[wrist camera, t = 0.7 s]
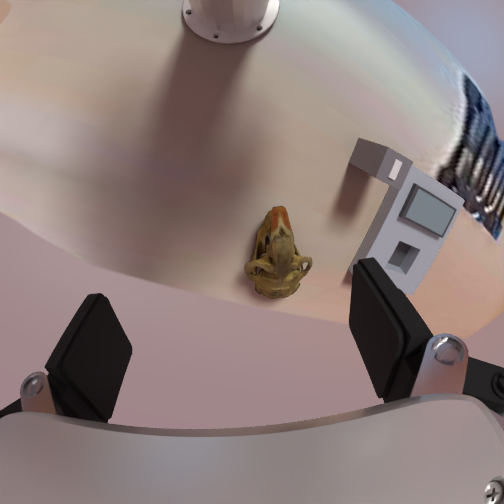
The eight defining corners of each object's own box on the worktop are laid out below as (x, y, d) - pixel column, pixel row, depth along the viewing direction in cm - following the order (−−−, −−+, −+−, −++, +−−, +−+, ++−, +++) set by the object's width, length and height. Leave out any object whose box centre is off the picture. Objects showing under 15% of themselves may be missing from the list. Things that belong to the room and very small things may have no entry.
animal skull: (299, 177, 35) (325, 237, 30) (297, 247, 48) (313, 300, 42) (228, 190, 35) (239, 254, 30) (243, 258, 48) (253, 313, 42)
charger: (358, 137, 36) (389, 147, 28) (380, 149, 37) (413, 162, 28) (348, 162, 38) (375, 178, 30) (370, 172, 38) (401, 191, 30)
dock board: (401, 160, 37) (414, 166, 34) (454, 194, 40) (468, 202, 36) (348, 268, 46) (356, 282, 43) (405, 286, 49) (414, 298, 45)
